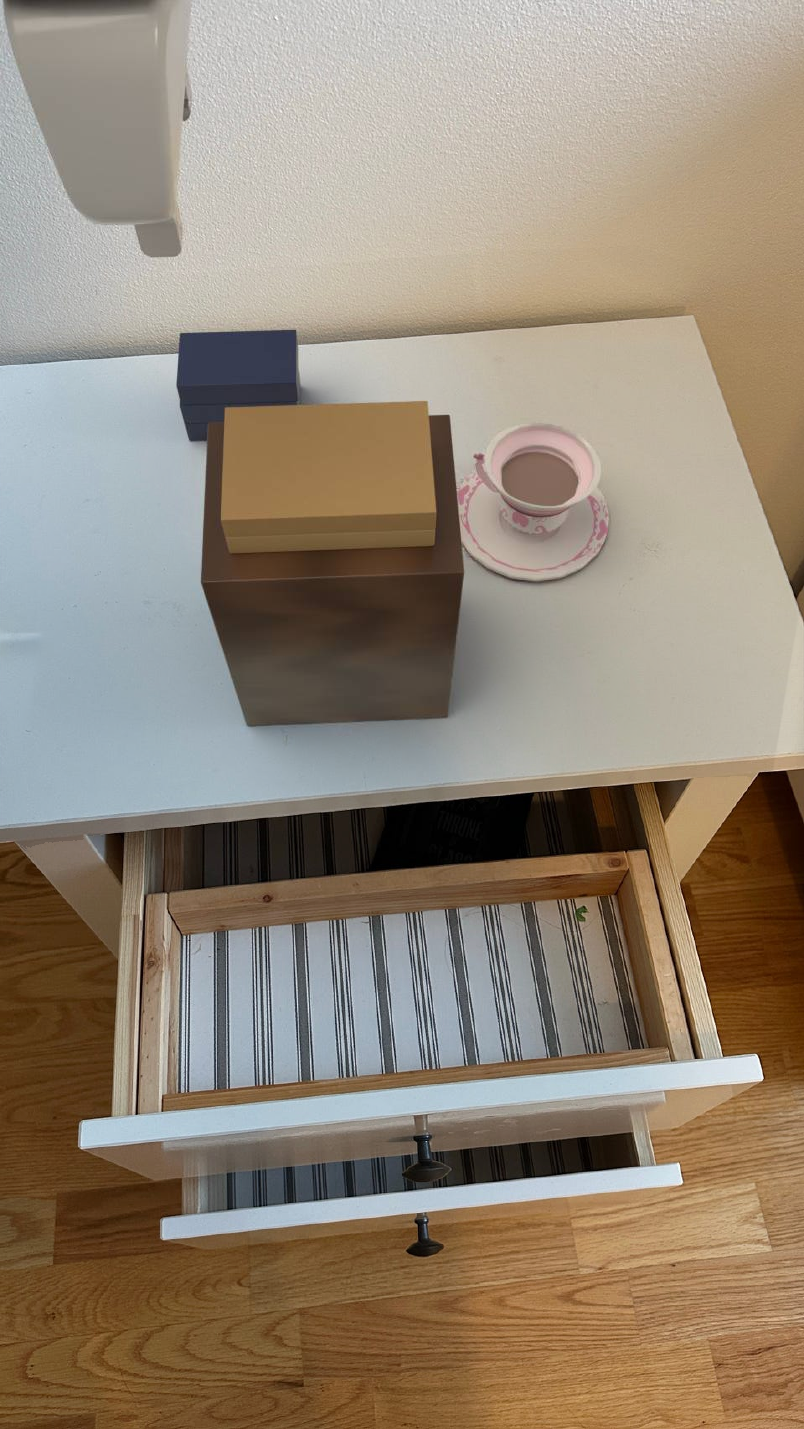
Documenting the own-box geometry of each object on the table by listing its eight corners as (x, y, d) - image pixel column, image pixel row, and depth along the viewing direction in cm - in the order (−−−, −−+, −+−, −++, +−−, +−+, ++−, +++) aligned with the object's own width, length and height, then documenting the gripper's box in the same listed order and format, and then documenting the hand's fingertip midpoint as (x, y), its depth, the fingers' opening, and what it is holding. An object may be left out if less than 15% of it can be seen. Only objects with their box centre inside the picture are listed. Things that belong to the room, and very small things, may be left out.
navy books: (189, 441, 79) (179, 405, 75) (192, 389, 81) (182, 352, 78) (301, 437, 79) (296, 401, 75) (300, 386, 81) (296, 349, 78)
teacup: (622, 478, 77) (640, 424, 72) (588, 601, 72) (604, 552, 67) (476, 442, 79) (482, 385, 73) (433, 560, 74) (436, 509, 68)
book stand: (246, 726, 68) (200, 582, 52) (249, 592, 73) (207, 422, 56) (447, 718, 68) (464, 572, 52) (437, 585, 73) (449, 414, 57)
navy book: (181, 405, 75) (176, 386, 73) (184, 352, 78) (179, 332, 76) (298, 401, 75) (296, 382, 74) (298, 349, 78) (296, 329, 76)
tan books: (229, 554, 52) (220, 519, 50) (232, 445, 56) (224, 407, 53) (434, 546, 53) (436, 512, 50) (425, 438, 56) (427, 400, 53)
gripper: (27, -332, 38) (118, 44, 50) (-53, -30, 29) (82, 335, 41) (191, -335, 38) (242, 41, 50) (161, -34, 29) (231, 331, 42)
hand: (169, 176), depth 46 cm, fingers open, 8 cm apart
